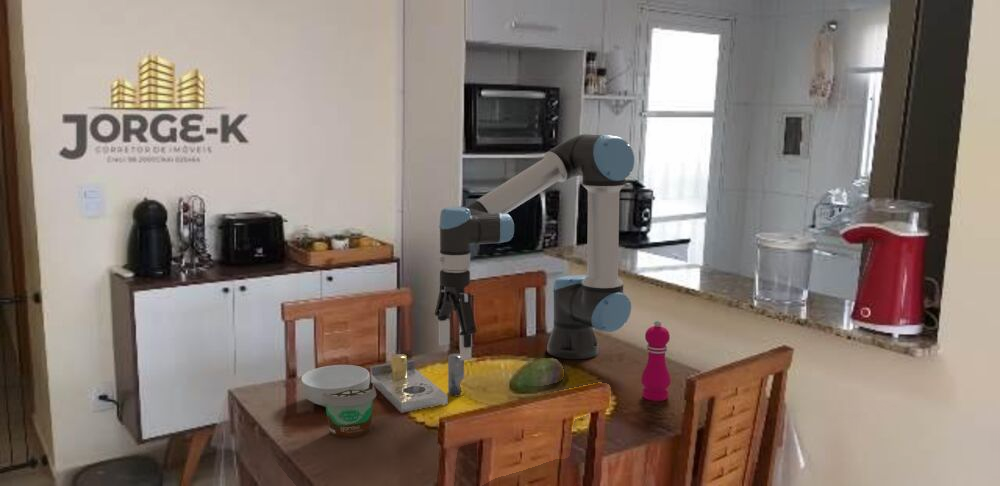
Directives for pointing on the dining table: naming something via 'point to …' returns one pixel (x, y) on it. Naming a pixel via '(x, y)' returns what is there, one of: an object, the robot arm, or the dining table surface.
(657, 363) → the pepper mill
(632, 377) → the dining table surface
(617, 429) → the dining table surface
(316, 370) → the cereal bowl
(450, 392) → the steel bushing
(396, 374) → the plate
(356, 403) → the food container
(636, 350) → the dining table surface
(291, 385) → the dining table surface
